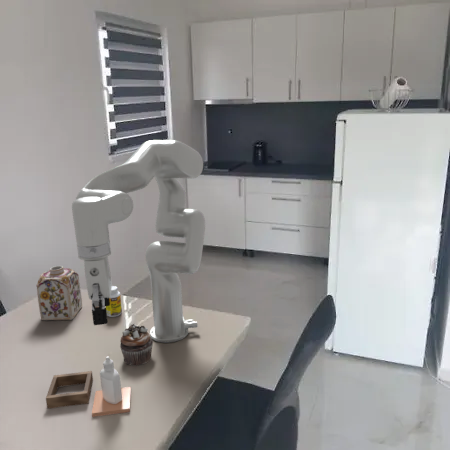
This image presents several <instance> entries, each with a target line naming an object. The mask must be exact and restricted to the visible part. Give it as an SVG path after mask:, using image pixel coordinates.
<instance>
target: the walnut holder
mask: <svg viewBox="0 0 450 450" xmlns="http://www.w3.org/2000/svg"><path fill="white" fill-rule="evenodd" d="M93 382H94V377H93V371H92V370H89V371H81V372H71V373H63V374H62V373H61V374H57V375H56V374H55V375H53V377H52V379H51V382H50V384H49V387H48V391H47V393H46V397H45V401H46V402H45V403H46V409H47V410H48V409H55V408H64V407H71V406H79V405H86V404H87V405H88V404H89V403H90V400H91V399H90V397H91V393H92V390H93V389H92V388H93ZM76 385H77V386H78V385H84V388H83V389H84V390H83V391H75V392H68V393H67V392H66V393H61V394H60V393H58V394H57V392H58V389H59V388H61V387H69V386H76Z"/></svg>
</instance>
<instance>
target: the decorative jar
mask: <svg viewBox="0 0 450 450" xmlns="http://www.w3.org/2000/svg"><path fill="white" fill-rule="evenodd" d="M36 293H37V294H36V295H37V302H38V307H39V314H40V320H41V321H71V320H72V321H73V320H74V318H75V317H76V316H77V315H78V313H79V312H80V310H81V308H82V307H83V300H82V299H83V298H82V291H81V283H80V275H79V274H78V272H76V271H75V270H74V269H72V268H69V267H64V266H63V265H54V266H52V267H50V268H49V270H47V271H44V272H43V273H40V275H39V278H38V281H37V284H36Z"/></svg>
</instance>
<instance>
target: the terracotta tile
mask: <svg viewBox="0 0 450 450" xmlns="http://www.w3.org/2000/svg"><path fill="white" fill-rule="evenodd" d="M121 392H122V400H121V401H120V402H119V403H117V404H111V403H108V402H107V401H105V400H104V398H103V395H102V389H100V390H95V393H94V399H93V403H92V404H93V405H92V409H91V417H92V418H94V417H103V416H110V415H116V414H124V413H130V412H131V398H132V386H125V387H121Z"/></svg>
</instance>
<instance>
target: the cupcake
mask: <svg viewBox="0 0 450 450" xmlns="http://www.w3.org/2000/svg"><path fill="white" fill-rule="evenodd" d="M148 331H149V328H148V327H145V325H141V326H138V325H137V324H135V323H133V324H131V325H129V327H128V328H125V329H124V330H122V335H121V337H120V346H119V347H120V350H121V351H120V352H121V353H122V357H123V360H124V362H125V364H127V365H129V366H142V365H145V364H147V363H148V362H149V361H150V360H151V359H152V353H153V352H152V350H153V345H154V340H153V339H152V338H151V337H150V332H148Z"/></svg>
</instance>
